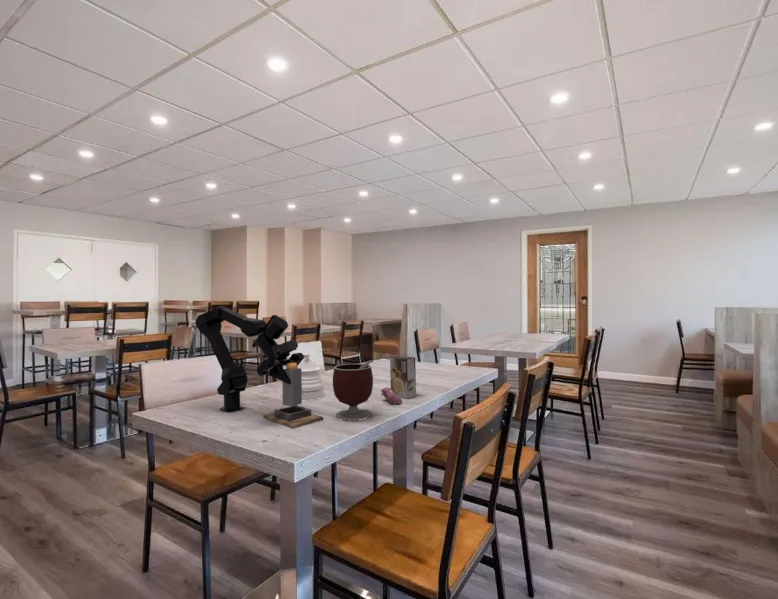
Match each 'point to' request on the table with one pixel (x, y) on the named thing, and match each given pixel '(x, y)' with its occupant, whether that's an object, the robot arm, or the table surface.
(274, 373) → the robot arm
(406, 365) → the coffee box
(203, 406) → the table surface
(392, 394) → the pink oblong lump
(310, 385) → the honey pot
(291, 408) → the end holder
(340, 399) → the mate gourd
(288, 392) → the connector plug
